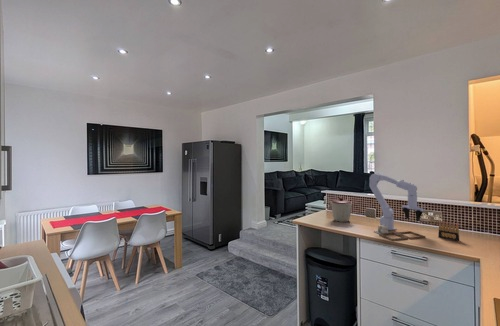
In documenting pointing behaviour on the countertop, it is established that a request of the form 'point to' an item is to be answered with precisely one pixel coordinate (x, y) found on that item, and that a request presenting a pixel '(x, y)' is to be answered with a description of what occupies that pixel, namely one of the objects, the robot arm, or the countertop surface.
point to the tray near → (394, 234)
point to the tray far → (412, 233)
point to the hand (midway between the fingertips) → (412, 219)
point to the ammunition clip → (444, 231)
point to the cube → (382, 229)
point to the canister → (341, 209)
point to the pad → (379, 232)
